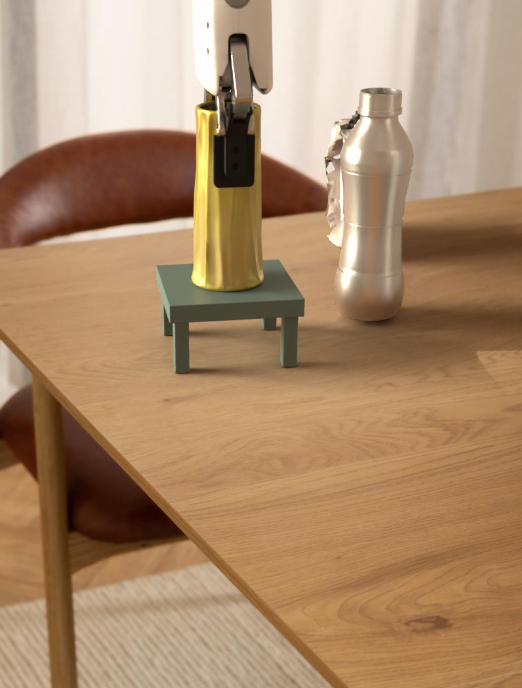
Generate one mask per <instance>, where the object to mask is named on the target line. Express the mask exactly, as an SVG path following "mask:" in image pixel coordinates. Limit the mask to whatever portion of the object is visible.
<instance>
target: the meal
mask: <svg viewBox="0 0 522 688" xmlns="http://www.w3.org/2000/svg"><path fill="white" fill-rule="evenodd" d="M360 116H361V115H360V114H358V113H357V110H355V113H354V114H352V115H351V118H340V119H339V121H338V120H336V121H334V122H333V124H332V129H331V131H330V142H329V144H328V147H327V148H328V149H327V151H326V155H325V156H324V157H323V158H324V171H325V177H326V181H327V182H326V189H327V190H326V191H327V198H328V199H327V200H328V201H327V204H326V209H325V215H324V216H325V217H326V221H327V222H328V224H329V226H330V229H332V230H330V233H328V234H326V237H327V239H328V240H329V242H331V243H332V244H333V245H335V246H336V247H338V248H341V243H342V236H343V218H344V213H343V186H342V175H341V164H340V157H338V158H334V157H337V156H340V153H341V150H342V147H343V143H344V142H345V140H346V139H347V137H348V135H349V134H350V132H351V131H352V130H353V128H354V127H355V126H356V124H357V123H358V122H359V120H360ZM330 163H332V166H333V168H334V170H331V171H330V172H329V173H328V170H327V168H328V167H329V165H330Z"/></svg>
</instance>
